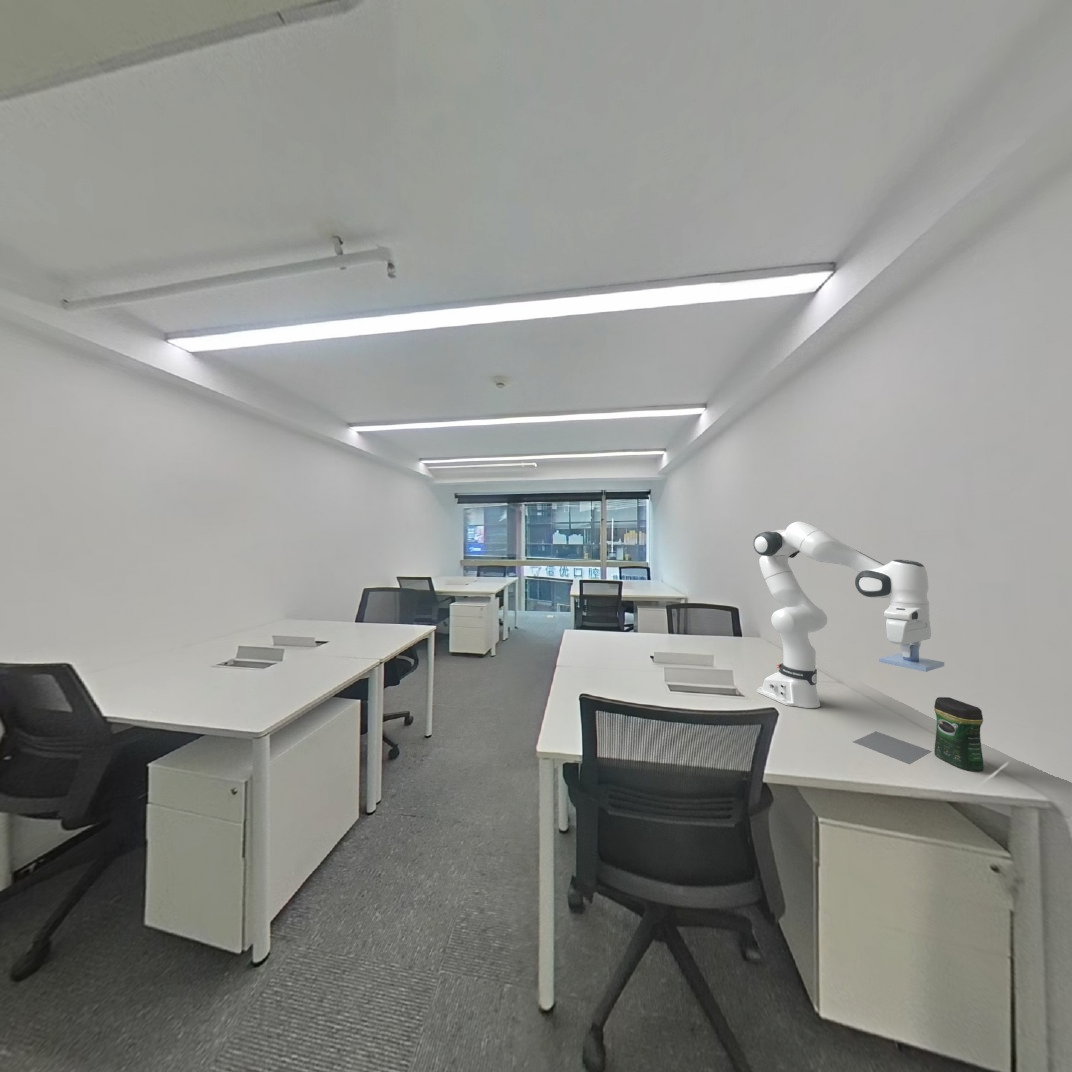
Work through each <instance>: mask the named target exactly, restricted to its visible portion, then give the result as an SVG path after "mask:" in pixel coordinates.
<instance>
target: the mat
mask: <svg viewBox="0 0 1072 1072" xmlns="http://www.w3.org/2000/svg"><path fill="white" fill-rule="evenodd" d="M852 743H855V744H857V745H860V746H862V747H864V748H866V749H870V750H872V751H875V752H876V753H879V754H882V755H885V756H886V757H889V758H893V759H895V760H897V761H901V762H902V763H905V764H908V765H911V764H913V763H914V762H916V761H918V760H920V759H921V758H923V757H925V756H926V755H928V754H930V753H931V752H932V750H929V749H926V748H924V747H922V746H919V745H916V744H913V743H910V742H908V741H904V740H901V739H899V738H896V737H893V736H890V735H889V734H885V733H883V732H880V731H873V732H871V733H869V734H867V735H864V736H862V737H861V738H858V739H856V740H853V741H852Z"/></svg>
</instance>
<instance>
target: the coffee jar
mask: <svg viewBox="0 0 1072 1072" xmlns="http://www.w3.org/2000/svg"><path fill="white" fill-rule="evenodd" d="M933 708H934V709H933V710H934V714H935V718H936V729H935V731H936V733H935V740H934V741H935V742H934V751H933V752H934V756H936V758H938V759H939V760H941V761H943V762H945V763H947V764H948V765H950V766H953V767H955V768H957V769H960V770H963V771H969V772H981V771H983V770H984V757H983V750H982V742H981V741H982V739H981V727H982V725H983V722H984V718H983V712H982V710H981V709H980V707H977V706H976V705H975V706H974V705H971V704H969V703H966V702H963V701H960V700H957V699H955V698H952V697H949V696H948V697H946V696H945V697H943V696H939V697H936V699H935V700H934V706H933Z"/></svg>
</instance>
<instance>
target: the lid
mask: <svg viewBox="0 0 1072 1072" xmlns="http://www.w3.org/2000/svg"><path fill="white" fill-rule="evenodd" d="M910 651H912V656H911V657H904V656H902V653H895V654H891V655H890V654H889V655H887V656H883V657H879V658H878V662H879V663H881V664H888V665H892V666H895V667H896V666H897V667H900V668H906V669H910V670H915V671H919V672H925V673H926V672H929V671H934V670H937V669H939V668H943V667H945V661H939V660H935V659H929V658H926V657H925V658H923V657H920V648H919V646H917V645H911V643H910Z"/></svg>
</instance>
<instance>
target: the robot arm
mask: <svg viewBox="0 0 1072 1072" xmlns="http://www.w3.org/2000/svg"><path fill="white" fill-rule="evenodd" d="M753 547H754V548H753V549H754V551H755V552H756V553H757V554H759V555H760V558H759V560H758V564H759V567H760V571H761V572H760V573H761V575H762V577H763V579H764V581H765V583H766V586H767V589H768V591H769V592H770V595H771V596H772V598H773V599H774V600H776V601H778V603H780V604H781V605H782V606H783V607H782V608H779V609H777V610H775V611H774V612H773V613H772V615H771V618H770V620H771V621H770V622H771V625H772V626H773V627H772V628H773V629H774V630H776V631H777V633H778V634H779V636H780V640H781V643H782V653H783V655H782V657H783V658H782V661H783V662H782V663H780V664H777V665H776V668H777V669H779V670H778V671H776V672H775V673H772V674H771V675H768V676H767V677H765V678H764V680H763V684H762V686H759V687H757V689H756V692H757V693H758V694H761V695H762V696H765V697H767V698H769V699H771V700H773V701H775V702H779V703H780V704H783V705H785V706H788V707H799V708H805V709H816V708H820V707H821V702H820V699H819V695H818V688H817V683H818V670H817V667H816V664H817V663H816V660H817V659H816V658H817V657H816V656H817V654H816V652H817V651H816V649H815V647H814V646H813V645H811V643H810V638H809V633H816V632H818V631H820V630H822V629H823V628H825V627H826V625H827V624H828V616H827V614H826V612H825V611H824V610H823V609H821V608H820V607H819V606H817V605H816V604H815V603H814V602H813V601H812V600H811V599H810V598H809V597H808V596H807V594H806V593H805V592H804V590H803V589H802V587H801V585H800V584H799V582H798V580H797V578H796V576H795V574H794V573H793V571H792V569H791V567H790V564H789V562H788V561H789V558H791V559H792V558H793V559H794V558H795V557H797V555H798V554H799V553H801V554H802V555H804V556H806V557H807V558H809V559H811V560H813V561H816V562H819V563H826V564H834V565H841V566H845V567H849V568H851V569H853V570H855V571H857V572H858V574H857V575H856V577H855V579H854V580H855V581H854V585H855V588H856V590H857V591H858V593H860V594H861V595H862V596H864V597H867V598H873V599H875V598H876V599H889V606H888V608H886V609H885V610H884V613H883V616H884V619H885V618H886V620H885V622H886V623H885V624H886V625H885V626H886V636H887V640H888V642H889V643H890V644H893V645H899V647H900V650H901V654H902V656H904V657H911V656H912V651H910V644H911V645H917V646H919V649H920V648H921V645H922V641H926V640H929V639H931V637H932V631H931V620H930V602H929V599H928V592H929V579H928V574H927V573H928V572H927V570H926V567H925V565H924V564H922V563H921V562H918V561H914V560H906V559H893V560H891V561H890V562H888V563H886V564H884V563H882V562H881V561H878V560H876V559H875V558H872V557H871V556H868V555H866V554H865V553H863V552H861V551H859V550H857V549H854V548H852V547H851V546H849V545H847V544H846V543H844V542H842V541H840V540H839V539H837V538H835V537H834V536H833V535H830V534H829V533H827V532H826V531H823V530H822V529H820V528H819V527H817V526H814V525H812V524H810V523H807V522H804V521H795V522H792V523H790V524H789V525H788V526H787V527H786V528H785V529H776V530H772V531H771V530H770V531H769V530H768V531H764V532H760V533H759V534H756V536H755V537H754V539H753Z"/></svg>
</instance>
